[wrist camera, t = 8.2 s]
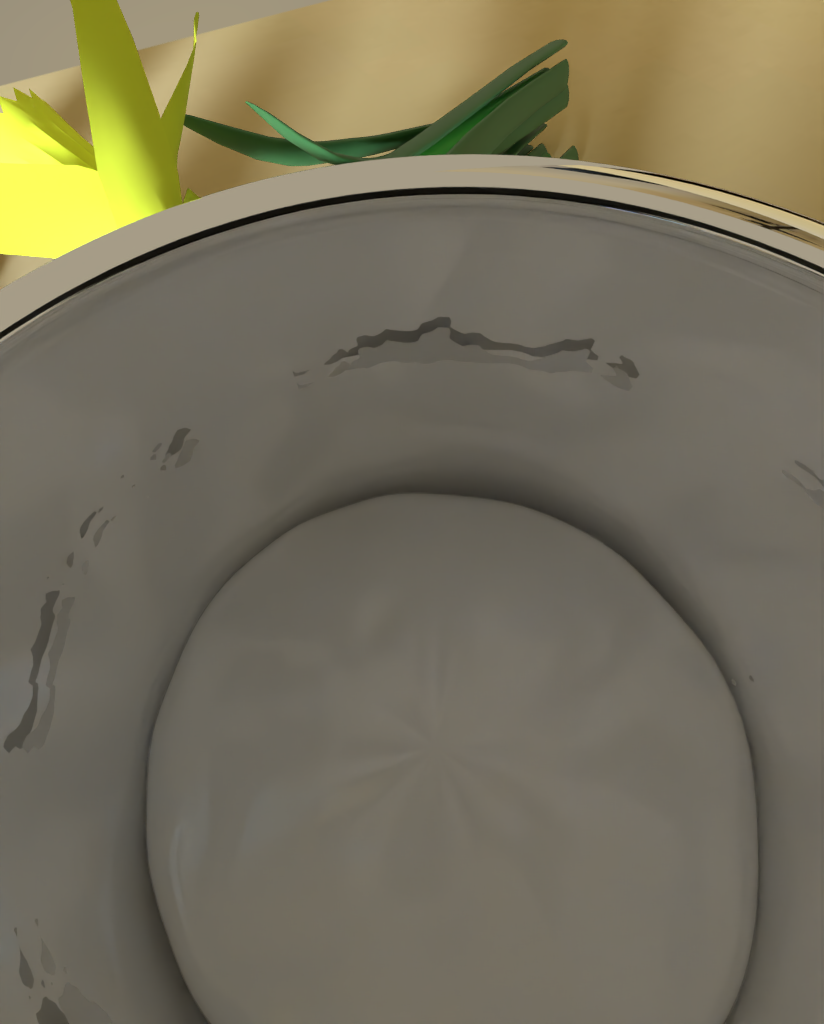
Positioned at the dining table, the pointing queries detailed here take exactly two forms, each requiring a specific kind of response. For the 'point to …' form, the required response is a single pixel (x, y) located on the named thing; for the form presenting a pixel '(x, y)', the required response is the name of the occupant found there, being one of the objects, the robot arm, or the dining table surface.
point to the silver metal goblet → (417, 605)
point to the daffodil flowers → (155, 141)
